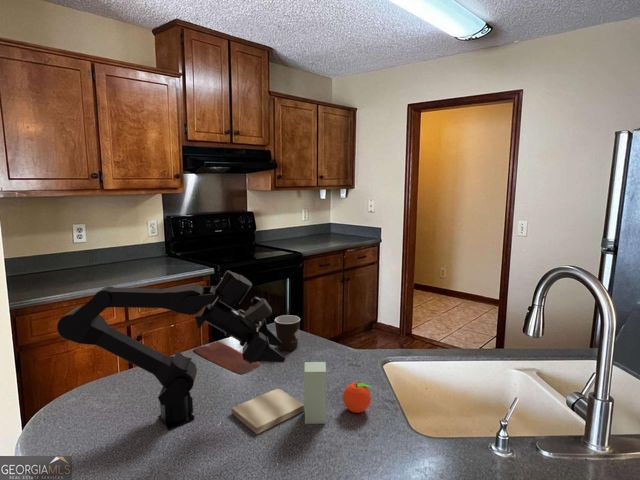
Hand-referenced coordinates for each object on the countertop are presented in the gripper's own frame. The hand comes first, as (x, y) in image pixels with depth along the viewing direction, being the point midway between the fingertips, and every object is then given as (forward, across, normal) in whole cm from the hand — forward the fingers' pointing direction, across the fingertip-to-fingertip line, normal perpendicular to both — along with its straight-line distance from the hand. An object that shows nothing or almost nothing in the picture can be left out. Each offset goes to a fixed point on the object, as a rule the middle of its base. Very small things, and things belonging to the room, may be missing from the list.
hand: (282, 352), depth 99 cm
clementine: (+24, -4, +2) cm, 24 cm away
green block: (+14, -5, +8) cm, 17 cm away
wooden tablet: (-4, +33, +22) cm, 39 cm away
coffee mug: (+14, +38, +9) cm, 41 cm away
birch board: (+6, -1, +14) cm, 15 cm away
